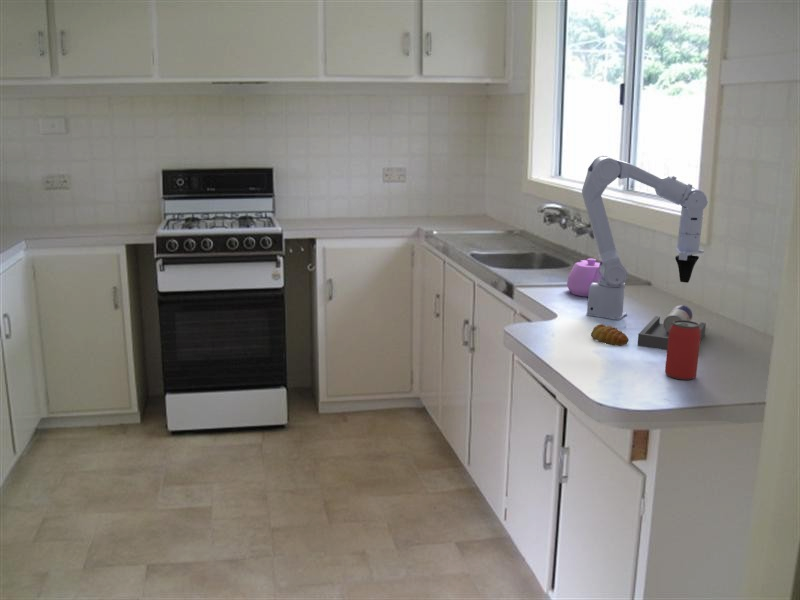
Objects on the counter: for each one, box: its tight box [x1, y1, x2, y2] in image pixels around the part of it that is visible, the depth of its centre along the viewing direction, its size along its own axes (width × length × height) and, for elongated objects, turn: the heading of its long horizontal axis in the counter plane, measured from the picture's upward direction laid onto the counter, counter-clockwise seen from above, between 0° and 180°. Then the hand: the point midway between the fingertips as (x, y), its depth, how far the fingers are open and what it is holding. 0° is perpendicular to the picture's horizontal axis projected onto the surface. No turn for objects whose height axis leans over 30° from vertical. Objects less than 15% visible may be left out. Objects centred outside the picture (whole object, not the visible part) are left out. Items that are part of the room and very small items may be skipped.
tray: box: [637, 316, 707, 351], centre depth 208 cm, size 13×20×3 cm, turn 152°
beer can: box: [664, 320, 701, 381], centre depth 179 cm, size 7×7×12 cm
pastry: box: [590, 323, 630, 347], centre depth 205 cm, size 9×7×4 cm
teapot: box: [566, 258, 602, 298], centre depth 254 cm, size 13×20×11 cm, turn 4°
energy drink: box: [662, 304, 693, 333], centre depth 212 cm, size 5×5×12 cm
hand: (684, 281), depth 227 cm, fingers closed
